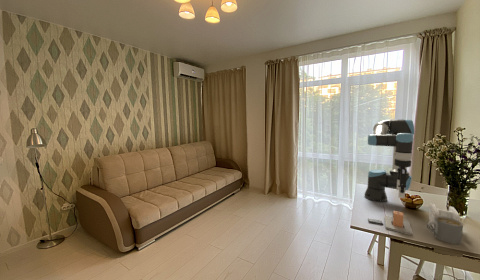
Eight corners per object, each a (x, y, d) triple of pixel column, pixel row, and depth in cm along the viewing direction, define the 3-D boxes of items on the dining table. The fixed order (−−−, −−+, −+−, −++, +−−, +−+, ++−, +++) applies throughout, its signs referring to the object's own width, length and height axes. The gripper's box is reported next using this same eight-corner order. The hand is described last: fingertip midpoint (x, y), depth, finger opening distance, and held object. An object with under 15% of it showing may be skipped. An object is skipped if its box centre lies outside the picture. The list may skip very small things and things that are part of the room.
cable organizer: (459, 236, 104) (461, 216, 103) (432, 229, 111) (433, 210, 109) (451, 224, 116) (453, 205, 115) (427, 218, 122) (428, 201, 121)
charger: (392, 223, 118) (393, 210, 117) (401, 225, 115) (402, 212, 114) (393, 227, 114) (394, 213, 113) (402, 229, 111) (403, 215, 111)
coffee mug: (457, 236, 104) (459, 219, 103) (464, 246, 96) (466, 228, 95) (423, 229, 111) (425, 212, 110) (427, 237, 103) (429, 220, 102)
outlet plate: (384, 217, 125) (384, 215, 125) (408, 222, 118) (408, 220, 118) (385, 228, 112) (385, 226, 112) (412, 235, 105) (412, 233, 105)
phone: (367, 219, 122) (367, 218, 122) (381, 222, 119) (381, 220, 119) (368, 222, 119) (368, 220, 119) (382, 225, 116) (382, 223, 116)
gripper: (393, 155, 124) (391, 186, 127) (396, 163, 104) (393, 199, 107) (408, 156, 120) (406, 188, 122) (414, 164, 100) (411, 203, 102)
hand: (400, 193), depth 114 cm, fingers open, 13 cm apart
